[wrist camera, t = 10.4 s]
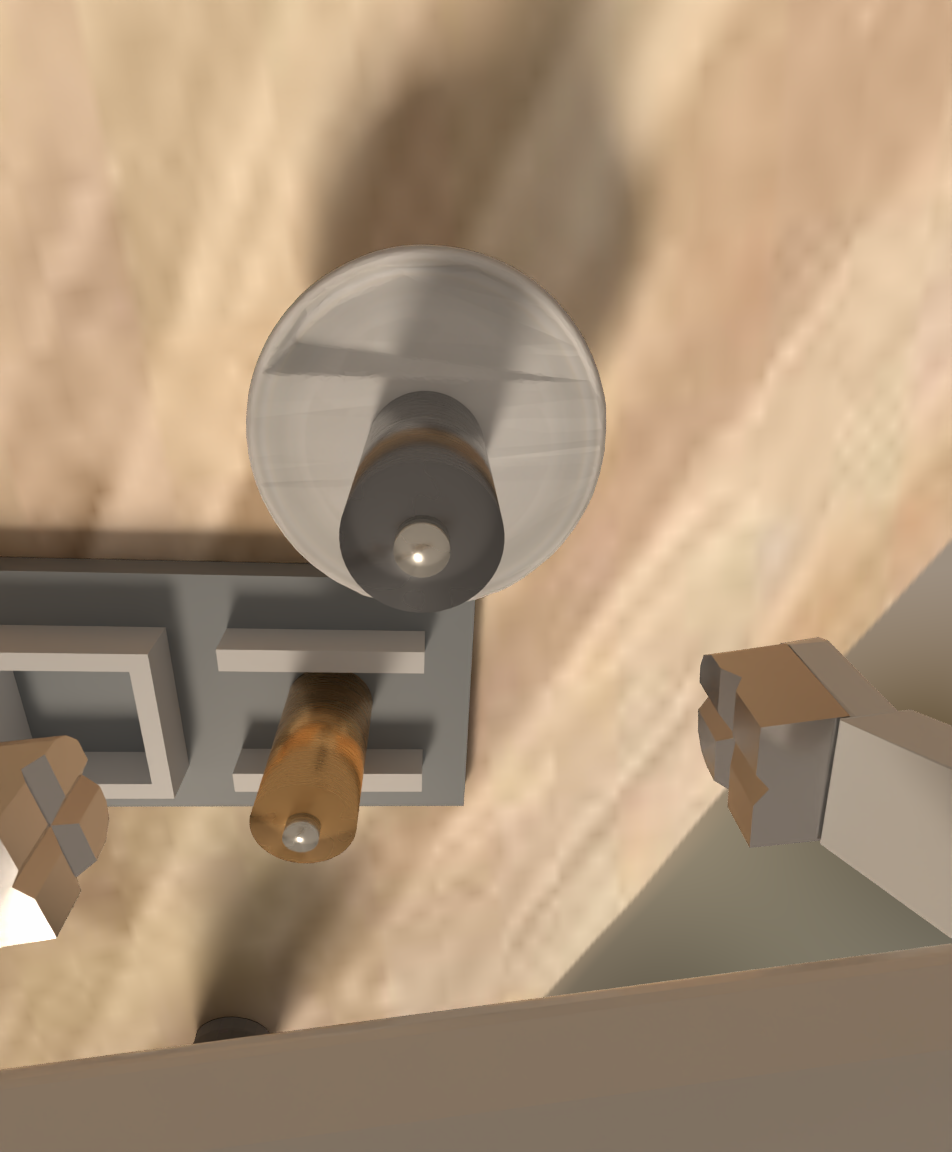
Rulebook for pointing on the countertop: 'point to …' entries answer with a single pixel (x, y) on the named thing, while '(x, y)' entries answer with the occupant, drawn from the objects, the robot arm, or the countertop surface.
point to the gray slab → (224, 675)
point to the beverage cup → (228, 1029)
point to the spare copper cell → (315, 769)
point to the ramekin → (427, 363)
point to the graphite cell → (423, 507)
